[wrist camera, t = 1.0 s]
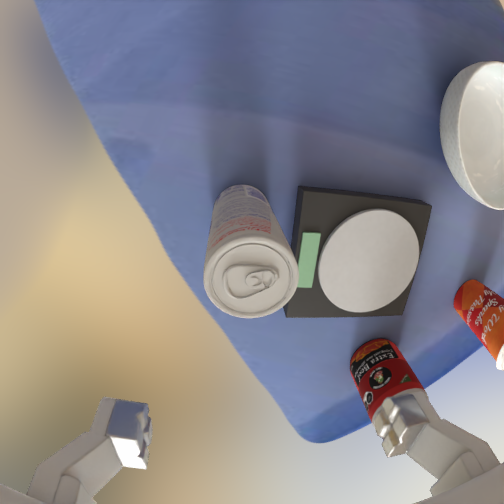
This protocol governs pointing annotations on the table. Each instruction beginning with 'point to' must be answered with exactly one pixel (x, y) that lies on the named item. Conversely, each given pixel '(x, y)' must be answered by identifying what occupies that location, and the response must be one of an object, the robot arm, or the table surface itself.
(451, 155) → the cereal bowl
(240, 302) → the beverage can
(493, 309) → the paper cup
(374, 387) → the canned food
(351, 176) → the table surface
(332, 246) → the scale
